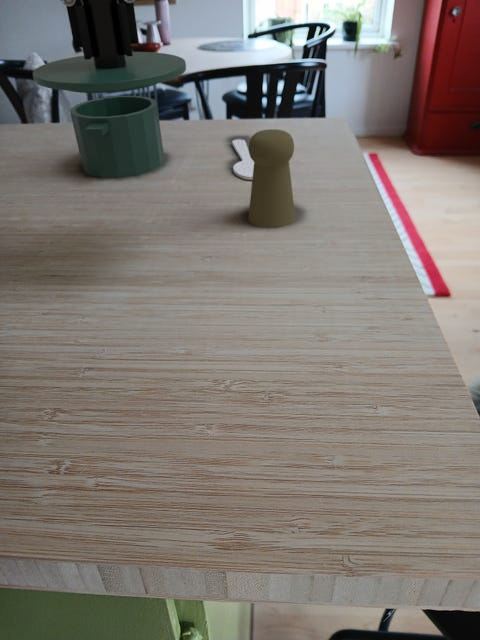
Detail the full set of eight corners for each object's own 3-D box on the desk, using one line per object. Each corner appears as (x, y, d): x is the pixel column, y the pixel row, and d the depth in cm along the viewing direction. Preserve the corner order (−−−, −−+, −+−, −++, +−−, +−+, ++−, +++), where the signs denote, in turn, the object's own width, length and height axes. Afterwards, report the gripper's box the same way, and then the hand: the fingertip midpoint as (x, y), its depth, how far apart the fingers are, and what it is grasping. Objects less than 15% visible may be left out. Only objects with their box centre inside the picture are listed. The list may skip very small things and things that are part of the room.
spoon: (253, 140, 90) (253, 137, 90) (273, 178, 76) (273, 174, 75) (222, 143, 89) (222, 140, 89) (237, 181, 75) (236, 178, 75)
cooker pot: (65, 190, 76) (48, 124, 70) (106, 149, 90) (95, 92, 84) (147, 191, 74) (136, 123, 68) (176, 149, 88) (169, 90, 83)
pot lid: (7, 98, 43) (-20, 4, 39) (72, 65, 53) (56, -12, 49) (166, 99, 41) (155, 1, 37) (199, 64, 52) (194, -15, 48)
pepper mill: (260, 236, 61) (258, 143, 55) (240, 217, 66) (236, 129, 59) (304, 225, 63) (308, 134, 56) (282, 207, 68) (282, 121, 61)
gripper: (172, -229, 39) (192, 42, 50) (-55, -231, 37) (19, 54, 48) (184, -258, 33) (204, 56, 44) (-85, -264, 31) (7, 70, 42)
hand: (108, 53), depth 46 cm, fingers closed on pot lid, 2 cm apart
